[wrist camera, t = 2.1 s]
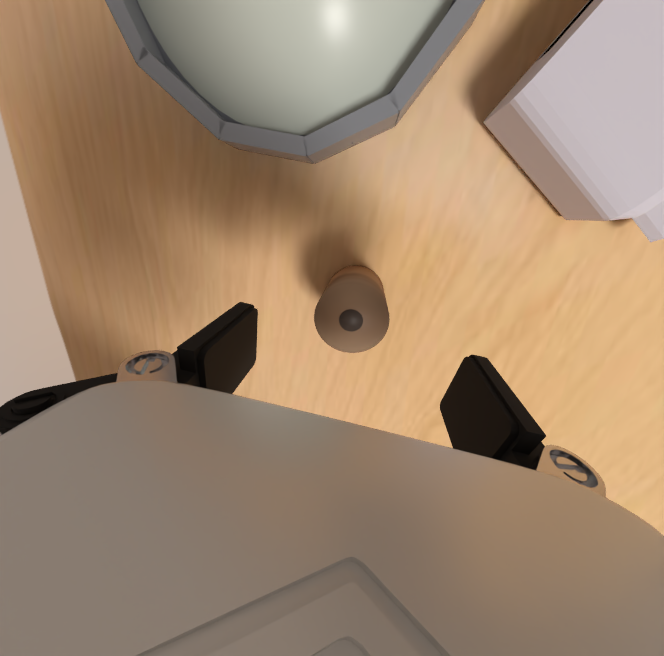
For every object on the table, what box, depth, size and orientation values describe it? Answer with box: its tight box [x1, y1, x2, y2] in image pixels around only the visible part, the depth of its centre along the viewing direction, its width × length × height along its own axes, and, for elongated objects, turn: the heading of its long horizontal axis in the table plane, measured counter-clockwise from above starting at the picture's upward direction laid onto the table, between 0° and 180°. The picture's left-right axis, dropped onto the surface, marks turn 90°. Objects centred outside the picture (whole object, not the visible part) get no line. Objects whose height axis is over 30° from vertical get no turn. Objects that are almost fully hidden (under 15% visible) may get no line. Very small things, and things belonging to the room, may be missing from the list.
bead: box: [314, 266, 389, 353], centre depth 19 cm, size 5×5×6 cm
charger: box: [483, 0, 664, 242], centre depth 13 cm, size 5×9×15 cm
